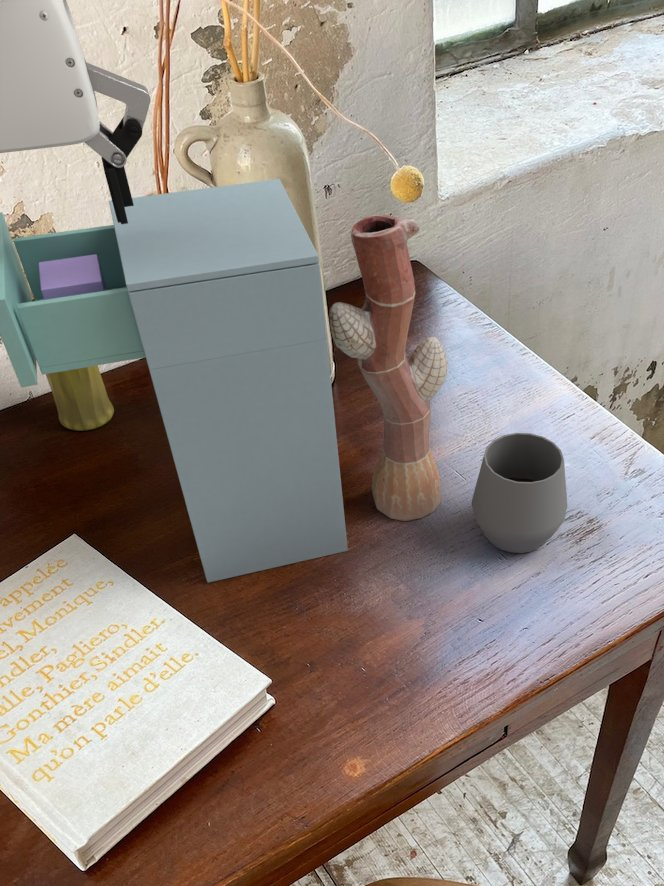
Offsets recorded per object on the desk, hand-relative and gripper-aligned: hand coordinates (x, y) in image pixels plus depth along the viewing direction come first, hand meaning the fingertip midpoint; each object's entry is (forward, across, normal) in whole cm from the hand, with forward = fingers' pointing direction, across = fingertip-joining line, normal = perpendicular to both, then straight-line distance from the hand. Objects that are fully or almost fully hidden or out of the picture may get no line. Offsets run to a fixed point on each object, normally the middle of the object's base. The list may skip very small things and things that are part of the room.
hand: (54, 225), depth 66 cm
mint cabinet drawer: (+9, +1, 0) cm, 9 cm away
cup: (+33, -35, +10) cm, 49 cm away
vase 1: (+33, +5, -24) cm, 41 cm away
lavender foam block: (+8, 0, 0) cm, 8 cm away
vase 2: (+33, -25, +1) cm, 41 cm away
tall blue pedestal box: (+33, -11, 0) cm, 35 cm away
